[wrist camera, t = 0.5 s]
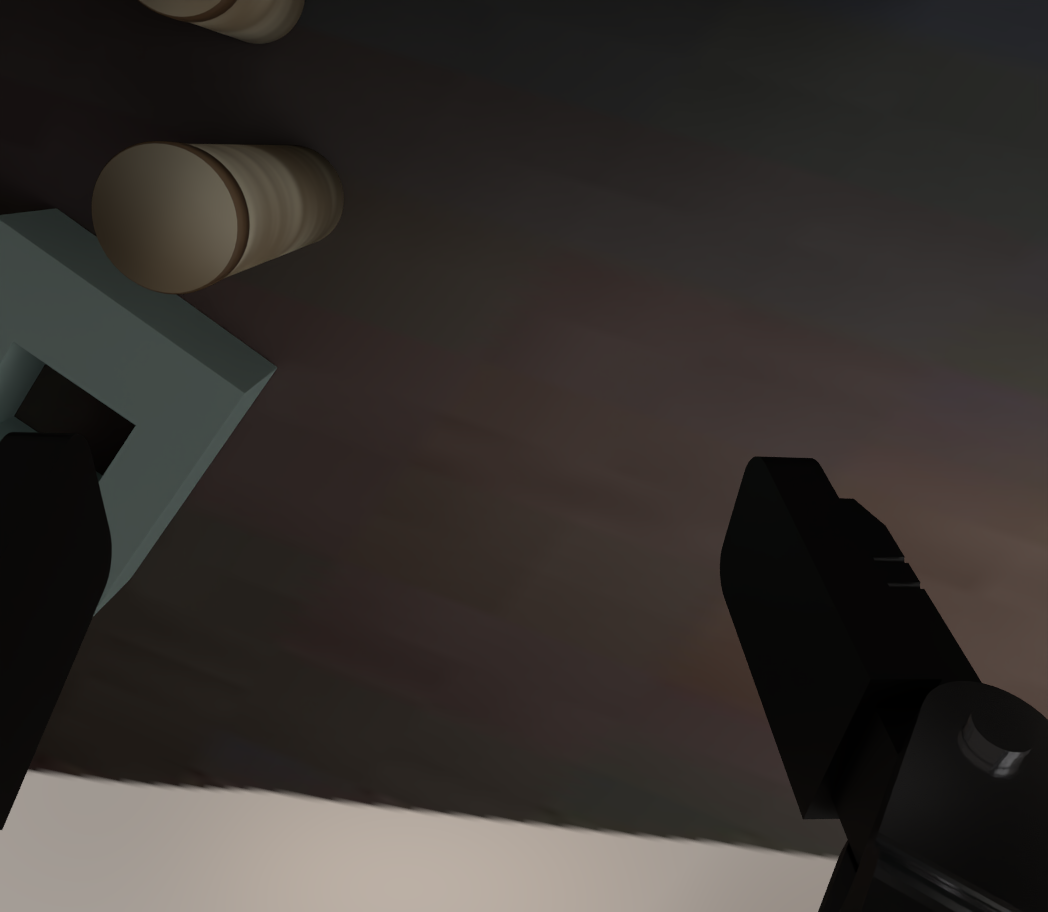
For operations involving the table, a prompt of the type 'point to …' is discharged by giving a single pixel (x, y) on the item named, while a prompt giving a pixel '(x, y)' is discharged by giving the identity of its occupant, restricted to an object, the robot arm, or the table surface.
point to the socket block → (121, 371)
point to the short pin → (235, 16)
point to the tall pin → (210, 209)
